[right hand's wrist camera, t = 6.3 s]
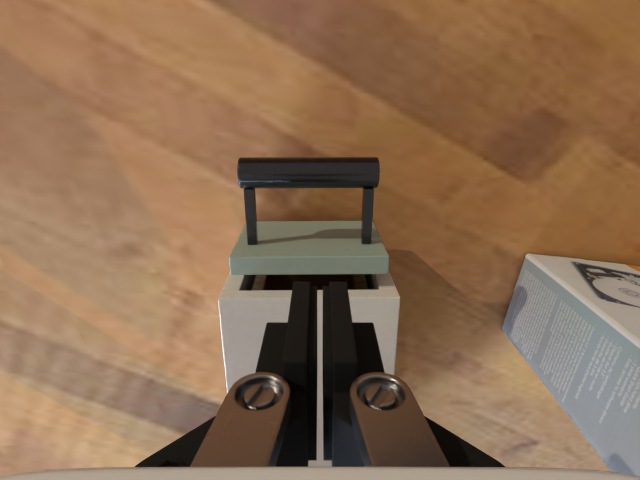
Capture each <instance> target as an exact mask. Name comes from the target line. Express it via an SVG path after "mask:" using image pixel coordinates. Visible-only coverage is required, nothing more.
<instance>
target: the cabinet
mask: <svg viewBox="0 0 640 480" xmlns="http://www.w3.org/2000/svg"><path fill="white" fill-rule="evenodd" d="M255 276H256V275H231V274H229V276H228V278H227V280H226V283H225V285H224V287H223V289H222V291H221V294H220V296H219V298H218V305H219V315H220V325H221V335H222V345H223V355H224V365H225V375H226V385H227V394H228V392H229V390H230V388H231V387H232V385H233V384H234V383H235V382H236V381H238V380H239V379H240V378H242V377H244V376H246V375H249V374H253V373H255V372H256V367H257V363H258V358H259V354H260V350H261V345H262V341H263V337H264V332H265V328H266V324H267V323H268V322H288V316H289V309H290V302H291V294H292V290H257V291H251V289H252V286H253V283H254V279H255ZM364 276H365V280H366V283H367V287H368V290H348V294H349V302H350V309H351V316H352V322H372V323H373V324H374V328H375V332H376V337H377V341H378V345H379V350H380V354H381V358H382V363H383V367H384V372H385V373H387V374H391V375H394V372H395V359H396V347H397V334H398V322H399V309H400V296H399V293H398V291H397V289H396V286H395V284H394V282H393V279H392V277H391V275H390V272H389V270H388V274H364ZM308 467H332V461H323V290H317V461H308Z"/></svg>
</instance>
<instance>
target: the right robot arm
mask: <svg viewBox="0 0 640 480" xmlns="http://www.w3.org/2000/svg"><path fill="white" fill-rule="evenodd" d="M308 461H317V286H311V282H293V287H292V294H291V302H290V309H289V316H288V322H268V323H267V324H266V328H265V332H264V337H263V341H262V345H261V350H260V354H259V358H258V363H257V367H256V372H255V373H253V374H249V375H246V376H244V377H242V378H240V379H239V380H238V381H236V382H235V383H234V384H233V385H232V387H231V388H230V390H229V392H228V394H227V395H226V397H225V399H224V401H223V403H222V405H221V407H220V409H219V411H218V413H217V415H216V416H215V417H213V418H212V419H210V420H208V421H207V422H205V423H203V424H202V425H200V426H199V427H197V428H195V429H194V430H192V431H190V432H189V433H187V434H186V435H184V436H182V437H181V438H179V439H177V440H176V441H174V442H173V443H171V444H169V445H168V446H166V447H164V448H163V449H161V450H159V451H158V452H156V453H155V454H153V455H151V456H150V457H148V458H146V459H145V460H143V461H142V462H140V463H139V464H138V465H136V466H135V467H103V468H77V469H51V470H41V471H32V472H23V473H17V474H12V475H7V476H2V477H0V480H640V477H638V476H633V475H628V474H623V473H617V472H608V471H599V470H589V469H563V468H537V467H505V466H504V465H502V464H501V463H500V462H498V461H497V460H495V459H494V458H492V457H490V456H489V455H487V454H485V453H484V452H482V451H481V450H479V449H477V448H476V447H474V446H472V445H471V444H469V443H467V442H466V441H464V440H463V439H461V438H459V437H458V436H456V435H454V434H453V433H451V432H450V431H448V430H446V429H445V428H443V427H441V426H440V425H438V424H437V423H435V422H433V421H432V420H430V419H428V418H427V417H425V416H424V415H423V413H422V411H421V409H420V407H419V405H418V403H417V401H416V399H415V397H414V395H413V394H412V392H411V390H410V388H409V387H408V385H407V384H406V383H405V382H404V381H402V380H401V379H400V378H398V377H396V376H394V375H391V374H387V373H385V372H384V367H383V363H382V358H381V354H380V350H379V345H378V341H377V337H376V332H375V328H374V324H373V323H372V322H352V316H351V309H350V302H349V294H348V287H347V282H329V286H323V461H332V467H308Z"/></svg>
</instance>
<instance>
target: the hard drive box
mask: <svg viewBox="0 0 640 480" xmlns="http://www.w3.org/2000/svg"><path fill="white" fill-rule="evenodd" d="M502 330H503V332H504V333H505V334H506V336H507V337H508V338H509V340H510V341H511V342H512V343H513V345H514V346H515V347H516V349H517V350H518V351H519V352H520V354H521V355H522V356H523V358H524V359H525V360H526V361H527V363H528V364H529V365H530V367H531V368H532V369H533V371H534V372H535V373H536V374H537V376H538V377H539V378H540V380H541V381H542V382H543V384H544V385H545V386H546V388H547V389H548V390H549V391H550V392H551V394H552V395H553V396H554V398H555V399H556V400H557V402H558V403H559V404H560V405H561V407H562V408H563V409H564V411H565V412H566V413H567V414H568V416H569V417H570V418H571V420H572V421H573V422H574V424H575V425H576V426H577V427H578V429H579V430H580V431H581V433H582V434H583V435H584V436H585V438H586V439H587V440H588V442H589V443H590V444H591V446H592V447H593V448H594V449H595V451H596V452H597V453H598V455H599V456H600V457H601V458H602V460H603V461H604V462H605V464H606V465H607V466H608V467H609V469H610V470H611V471H612V472H617V473H623V474H628V475H633V476H638V477H640V266H636V265H627V264H618V263H610V262H601V261H592V260H584V259H579V258H568V257H558V256H547V255H537V254H527V255H526V256H525V259H524V262H523V265H522V268H521V271H520V274H519V277H518V280H517V283H516V286H515V289H514V292H513V295H512V298H511V301H510V304H509V308H508V311H507V314H506V317H505V320H504V324H503V327H502Z"/></svg>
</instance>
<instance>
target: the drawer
mask: <svg viewBox="0 0 640 480" xmlns="http://www.w3.org/2000/svg"><path fill="white" fill-rule="evenodd" d="M237 172H238V182H239V186H240V188H245V189H244V199H245V214H246V224H245V226H244V228H243V230H242V232H241V234H240V236H239V238H238V240H237V242H236V244H235V246H234V248H233V250H232V252H231V254H230V256H229V265H230V274H231V275H256V276H255V279H254V283H253V286H252V289H251V291H257V290H292V287H293V282H311V286H317V290H323V286H329V282H347V287H348V290H368V287H367V283H366V280H365V276H364V274H388V268H389V255H388V253H387V251H386V249H385V246H384V244H383V242H382V240H381V238H380V236H379V233H378V231H377V229H376V227H375V225H374V223H373V221H372V216H373V196H374V189H373V188H376V187H377V186H378V183H379V174H380V168H379V160H378V158H377V157H302V158H239V160H238V169H237ZM255 188H363V198H362V221H257V215H256V198H255Z"/></svg>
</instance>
